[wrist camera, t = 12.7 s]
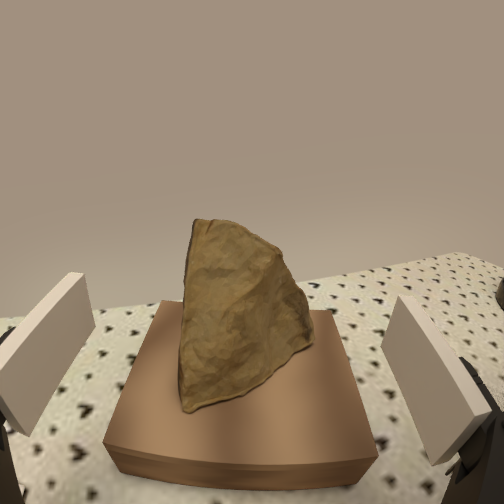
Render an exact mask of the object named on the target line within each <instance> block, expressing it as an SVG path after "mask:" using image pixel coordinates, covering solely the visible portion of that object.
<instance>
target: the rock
mask: <svg viewBox="0 0 504 504" xmlns="http://www.w3.org/2000/svg"><path fill="white" fill-rule="evenodd" d="M184 287H185V289H184V298H183V316H182V322H181V340H180V345H179V350H178V378H177V381H178V392H179V397H180V400H181V403H182V410H183V411H184V412H186V413H192V412H194V411H195V410H196V409H197V408H199V407H201V406H204V405H208V404H212V403H215V402H218V401H220V400H228V399H231V398H234V397H236V396H239V395H240V396H243V395H245V394H246V393H247V392H248V391H249V390H251V389H252V388H254V387H255V386H257V385H259V384H261V383H263V382H264V381H265V380H266V378H268V377H269V376H271V375H272V374H273V373H274V370H276V369H277V368H278V367H279V366H281V365H284V364H285V363H286V362H287V361H288V360H289V358H290V357H291V355H292V354H293V353H294V352H297V351H299V350H301V349H303V348H304V347H306V346H309V345H311V344H312V342H313V341H314V340H315V335H314V324H313V321H312V319H311V317H310V312H309V305H308V301H307V298H306V295H305V293H304V292H303V290H302V289H301V288H299V287H298V286H297V285H296V283H295V280H294V279H293V278H292V275H291V273H290V271H289V269H287V266H286V265H285V263H284V261H283V254H282V252H281V250H280V249H279V248H278V247H276V246H274V245H272V244H270V243H268V242H266V241H265V240H263V239H262V238H260V237H259V236H258V235H256V234H253V233H251V232H250V231H249V230H248V229H246V228H245V227H243V226H241V225H239V224H237V223H235V222H231V221H228V220H216V219H214V220H211V221H209V220H203V219H195V220H194V222H193V225H192V235H191V239H190V242H189V247H188V252H187V257H186V265H185V276H184Z"/></svg>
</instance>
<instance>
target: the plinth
mask: <svg viewBox="0 0 504 504" xmlns="http://www.w3.org/2000/svg"><path fill="white" fill-rule="evenodd" d="M309 312H310V317H311V319H312V321H313V324H314V335H315V340H314V341H313V342H312V344H311V345H309V346H306V347H304V348H303V349H301V350H299V351H297V352H294V353H293V354H292V355H291V357H290V358H289V360H288V361H287V362H286V363H285V364H284V365H281V366H279V367H278V368H277V369H276V370H274V373H273V374H272V375H271V376H269V377H268V378H266V380H265V381H264V382H263V383H261V384H259V385H257V386H255V387H254V388H252V389H251V390H249V391H248V392H247V393H246V394H245V395H243V396H240V395H239V396H236V397H234V398H231V399H228V400H220V401H218V402H215V403H212V404H208V405H204V406H201V407H199V408H197V409H196V410H195V411H194V412H192V413H186V412H184V411H183V410H182V403H181V400H180V397H179V392H178V381H177V378H178V350H179V345H180V340H181V322H182V316H183V302H175V301H164V300H162V301H161V303H160V306H159V308H158V310H157V312H156V314H155V316H154V319H153V321H152V323H151V325H150V327H149V330H148V332H147V334H146V336H145V339H144V341H143V343H142V346H141V348H140V350H139V352H138V355H137V357H136V359H135V362H134V364H133V366H132V369H131V371H130V374H129V376H128V378H127V381H126V383H125V386H124V388H123V391H122V393H121V395H120V398H119V400H118V403H117V406H116V408H115V411H114V413H113V416H112V418H111V421H110V423H109V426H108V429H107V431H106V434H105V437H104V439H103V442H102V443H103V444H104V446H105V448H106V450H107V451H108V453H109V455H110V456H111V458H112V460H113V461H114V463H115V465H116V466H117V468H118V469H119V471H120V472H121V473H125V474H130V475H134V476H138V477H143V478H148V479H153V480H158V481H164V482H170V483H176V484H183V485H190V486H199V487H208V488H219V489H234V490H300V489H315V488H326V487H335V486H343V485H351V484H356V483H357V482H358V481H359V480H360V479H361V477H362V476H363V475H364V474H365V473H366V471H367V470H368V469H369V468H370V466H371V465H372V464H373V463H374V461H375V460H376V459H377V457H378V456H379V455H378V452H377V448H376V445H375V442H374V438H373V435H372V432H371V428H370V425H369V422H368V419H367V415H366V412H365V409H364V406H363V403H362V400H361V397H360V394H359V391H358V388H357V384H356V381H355V378H354V376H353V373H352V370H351V367H350V364H349V361H348V358H347V355H346V352H345V349H344V346H343V344H342V341H341V338H340V335H339V332H338V330H337V327H336V324H335V321H334V319H333V316H332V313H331V310H309Z"/></svg>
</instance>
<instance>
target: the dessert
mask: <svg viewBox="0 0 504 504" xmlns="http://www.w3.org/2000/svg"><path fill="white" fill-rule="evenodd" d="M18 484H19V483H18ZM19 487H20V491H21V494H22V496H23V493H24V489H25V486H24V485H21V484H19Z"/></svg>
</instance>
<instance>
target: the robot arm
mask: <svg viewBox="0 0 504 504" xmlns="http://www.w3.org/2000/svg"><path fill="white" fill-rule="evenodd" d="M496 298H497V301H498V303H499V304H500V306H501V307H502V308H503V309H504V278H503V279H502V280H501V282H500V284H499V287H498V290H497V292H496ZM95 327H96V326H95V322H94V318H93V314H92V309H91V305H90V300H89V295H88V290H87V285H86V280H85V275H84V274H82V273H73V272H70V273H69V274H68V275H66V277H64V278H63V279H62V280H61V281H60V282H59V283H58V284H57V285H56V286H55V287H54V288H53V289H52V290H51V291H50V292H49V293H48V294H47V295H46V296H45V297H44V298H43V299H42V301H40V302H39V303H38V304H37V306H36V307H35V308H34V309H33V310H32V311H31V312H30V313H29V314H28V315H27V316H26V317H25V318H24V319H23V320H22V321H21V323H20V324H19V325H18V326H17V327H13V328H12V329H10V330H8V331H7V332H5V333H4V334H3V335H2V336H1V337H0V504H25V503H24V500H23V497H22V494H21V491H20V487H19V484H18V480H17V477H16V473H15V469H14V465H13V461H12V456H11V452H10V447H9V442H8V437H7V432H6V429H5V427H4V426H3V424H4V423H5V421H6V420H7V421H8V423H9V424H10V425H11V427H12V428H13V430H15V431H17V432H19V433H21V434H23V435H26V436H28V437H30V435H31V433H32V431H33V429H34V427H35V426H36V424H37V422H38V420H39V418H40V416H41V415H42V413H43V411H44V409H45V408H46V406H47V404H48V402H49V401H50V399H51V397H52V395H53V394H54V392H55V390H56V389H57V387H58V385H59V383H60V382H61V380H62V378H63V377H64V375H65V374H66V372H67V370H68V369H69V367H70V365H71V364H72V362H73V361H74V359H75V357H76V356H77V354H78V353H79V351H80V350H81V348H82V347H83V345H84V343H85V342H86V340H87V339H88V337H89V336H90V334H91V333H92V331H93V330H94V328H95ZM381 348H382V350H383V353H384V355H385V357H386V359H387V361H388V363H389V365H390V368H391V370H392V372H393V374H394V376H395V379H396V381H397V383H398V385H399V388H400V390H401V392H402V394H403V397H404V399H405V401H406V404H407V406H408V408H409V411H410V413H411V415H412V418H413V420H414V423H415V425H416V428H417V430H418V433H419V435H420V438H421V440H422V443H423V445H424V448H425V450H426V453H427V456H428V458H429V461H430V464H431V466H435V465H438V464H441V463H444V462H448V461H449V460H450V459H451V458H452V457H453V456H454V455H455V454H456V453H457V452H458V453H459V455H460V457H461V458H460V459H459V460H458V461H457V462H456V463H455V464H454V465H453V466H452V467H451V468H450V469H449V470H448V471H447V472H446V474H445V475H446V476H447V475H449V474H450V473H451V472H452V471H453V470H454V471H453V474H452V476H451V479H450V482H449V485H448V487H447V490H446V492H445V495H444V497H443V500H442V502H441V504H504V412H502V411H501V410H500V408H499V406H498V405H497V403H496V402H495V400H494V398H493V397H492V395H491V394H490V392H489V390H488V389H487V387H486V386H485V384H483V381H482V380H481V378H480V377H478V374H477V372H476V371H475V369H474V368H473V366H472V365H471V364H470V363H469V362H468V361H466V360H465V359H464V358H463V357H458V356H457V355H456V353H455V352H454V350H453V349H452V347H451V346H450V345H449V343H448V342H447V340H446V339H445V337H444V336H443V335H442V333H441V332H440V330H439V329H438V328H437V326H436V325H435V324H434V322H433V321H432V320H431V318H430V317H429V316H428V314H427V313H426V312H425V310H424V309H423V308H422V306H421V305H420V304H419V302H418V301H417V300H416V299H415V297H414V296H412V295H398V298H397V301H396V304H395V307H394V310H393V313H392V316H391V319H390V322H389V325H388V328H387V330H386V333H385V336H384V338H383V341H382V344H381Z"/></svg>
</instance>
